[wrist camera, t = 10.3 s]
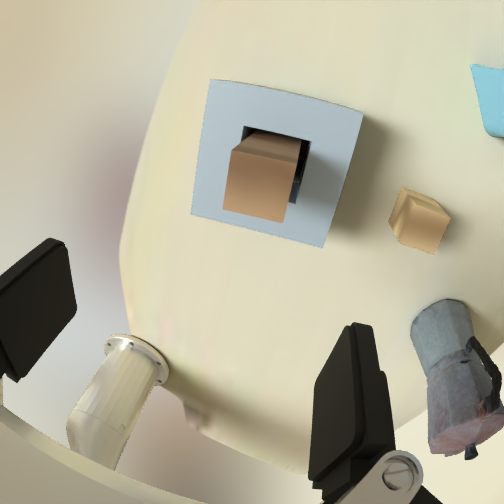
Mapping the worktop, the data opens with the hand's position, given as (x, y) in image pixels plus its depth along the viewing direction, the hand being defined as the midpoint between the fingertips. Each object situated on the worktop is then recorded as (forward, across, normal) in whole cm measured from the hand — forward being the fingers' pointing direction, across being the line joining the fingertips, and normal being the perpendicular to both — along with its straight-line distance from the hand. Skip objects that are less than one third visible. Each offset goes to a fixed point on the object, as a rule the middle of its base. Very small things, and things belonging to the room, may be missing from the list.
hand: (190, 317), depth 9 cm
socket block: (+24, 0, -1) cm, 24 cm away
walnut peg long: (+24, 0, -1) cm, 24 cm away
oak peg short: (+24, -15, +1) cm, 28 cm away
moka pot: (+24, -26, +14) cm, 38 cm away
